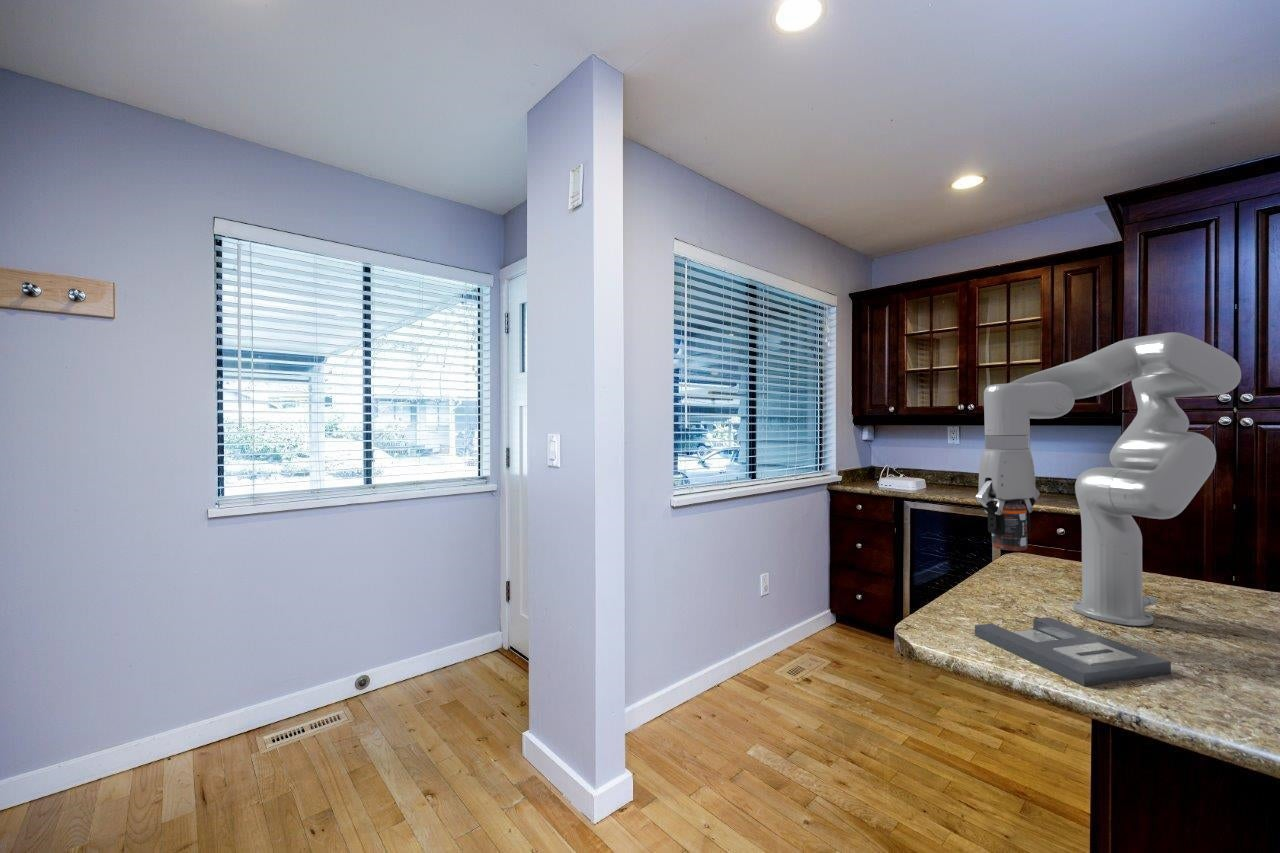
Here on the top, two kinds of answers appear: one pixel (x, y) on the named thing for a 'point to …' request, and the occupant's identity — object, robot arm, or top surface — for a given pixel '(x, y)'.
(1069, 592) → the top surface
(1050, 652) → the plate
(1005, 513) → the supplement bottle
